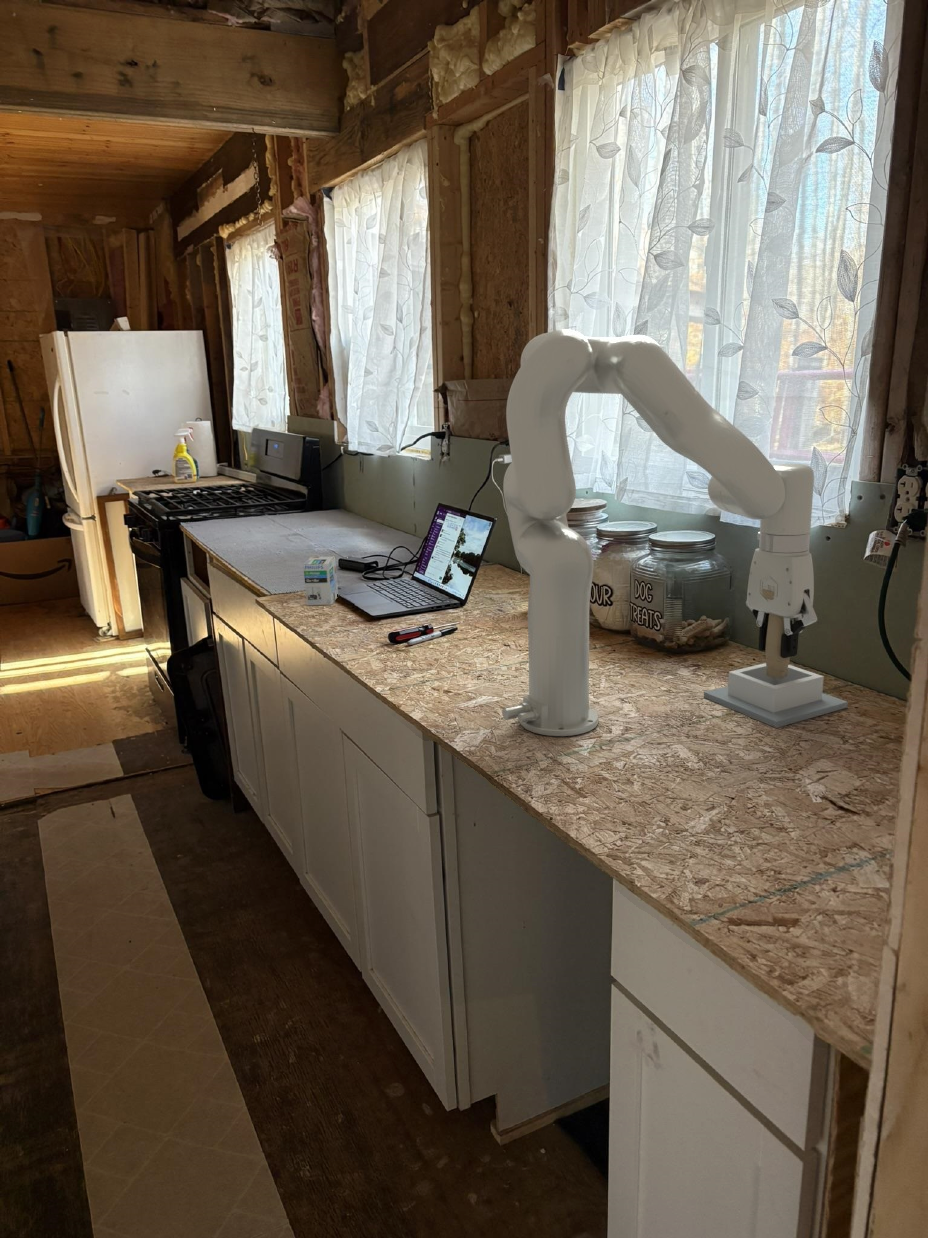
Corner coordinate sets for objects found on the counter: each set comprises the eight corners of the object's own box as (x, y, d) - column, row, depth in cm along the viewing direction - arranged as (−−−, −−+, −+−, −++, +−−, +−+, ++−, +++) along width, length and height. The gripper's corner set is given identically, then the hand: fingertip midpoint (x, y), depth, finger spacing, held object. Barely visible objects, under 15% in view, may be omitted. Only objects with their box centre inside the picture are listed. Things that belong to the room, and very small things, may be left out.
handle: (802, 678, 143) (808, 589, 139) (767, 683, 142) (772, 593, 138) (784, 669, 148) (790, 583, 144) (751, 673, 146) (755, 586, 142)
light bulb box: (332, 605, 219) (329, 563, 217) (305, 606, 220) (302, 564, 217) (338, 595, 230) (336, 555, 227) (313, 596, 230) (310, 555, 227)
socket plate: (776, 728, 135) (778, 697, 134) (703, 697, 149) (704, 669, 148) (847, 707, 142) (849, 678, 141) (771, 680, 156) (773, 653, 155)
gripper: (728, 538, 144) (723, 644, 149) (809, 554, 130) (801, 670, 135) (761, 533, 147) (755, 637, 152) (844, 547, 133) (835, 662, 138)
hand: (777, 651), depth 143 cm, fingers closed on handle, 3 cm apart
